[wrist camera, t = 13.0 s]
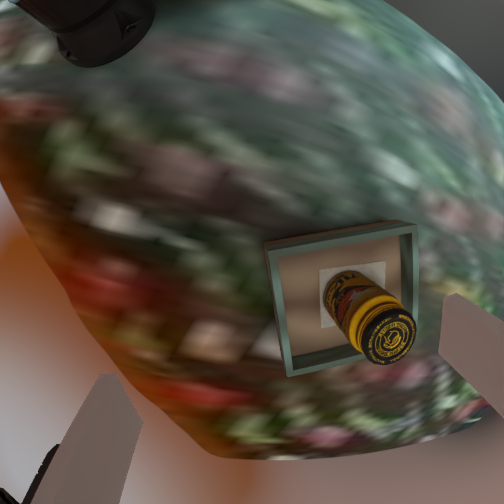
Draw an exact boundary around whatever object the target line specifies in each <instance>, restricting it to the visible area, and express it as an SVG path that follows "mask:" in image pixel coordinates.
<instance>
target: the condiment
mask: <svg viewBox="0 0 504 504" xmlns="http://www.w3.org/2000/svg"><path fill="white" fill-rule="evenodd" d="M385 269H386V261H381V262H374V263H368V264H360V265H351V266H344V267H336V268H328V269H321V270H319V283H320V316H321V328H327V327H332V326H338V327H339V329H340V330H341V331H342V332H343V334H344V335H345V337H346V338H347V340H348V341H349V342H350V343H351V344H352V346H353V347H354V348H355V349H356V350H358V351H360V352H362V353H363V354H364V355H365V356H366V357H367V359H368V360H369V361H371V362H373V363H374V364H380V365H388V364H391V363H395V362H396V361H398V360H400V359H401V358H402V357H404V356H405V354H406V353H407V352H408V351H409V349H410V348H411V346H412V345H413V343H414V341H415V337H416V331H417V327H416V322H415V320H414V318H413V317H412V315H411V314H410V313H409V312H408V311H406V310H405V309H404V307H403V305H402V304H401V302H400V301H399V300H397V298H396V297H395V296H393V295H392V294H390V293H389V292H388V291H386V290H385Z"/></svg>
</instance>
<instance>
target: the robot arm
mask: <svg viewBox="0 0 504 504" xmlns="http://www.w3.org/2000/svg"><path fill="white" fill-rule="evenodd" d="M8 1H9V2H10V3H14V4H15V5H17V6H18V7H20V8H21V9H22V10H24V11H25V12H26V13H28V14H29V15H31V16H32V17H33V18H35V19H36V20H37V21H39V22H40V23H41V24H43V25H44V26H45V27H47V28H48V29H49V30H51V32H52V34H53V37H54V39H55V42H56V44H57V47H58V49H59V51H60V53H61V54H62V55H63V57H65V58H66V59H67V60H69V61H70V62H71V63H73V64H75V65H77V66H81V67H94V66H99V65H103V64H106V63H108V62H111V61H113V60H115V59H117V58H119V57H120V56H122V55H123V54H125V53H126V52H128V51H129V50H130V49H132V48H133V47H134V46H135V45H136V44H137V43H138V42H139V41H140V40H141V39H142V38H143V37H144V35H145V34H146V33H147V31H148V29H149V28H150V26H151V24H152V21H153V18H154V14H155V6H154V2H153V0H8ZM438 354H439V355H440V356H442V357H443V358H444V359H445V360H446V361H447V362H448V363H449V364H450V365H451V366H452V367H453V368H454V369H455V370H456V371H457V372H458V373H459V374H460V375H461V376H462V377H463V378H464V379H465V380H466V381H467V382H468V383H469V384H471V385H472V386H473V387H474V388H475V389H476V390H477V391H478V392H479V393H480V394H481V395H482V396H483V397H484V399H485V400H486V401H487V402H488V403H489V404H490V405H491V406H492V407H493V408H495V410H496V411H497V412H498V413H499V414H500V415H501V416H502V417H503V418H504V322H503V321H502V320H500V319H498V318H497V317H495V316H494V315H492V314H491V313H489V312H487V311H486V310H484V309H482V308H481V307H479V306H477V305H476V304H474V303H473V302H471V301H469V300H468V299H466V298H464V297H462V296H461V295H459V294H457V293H455V294H453V295H450V296H448V297H445V298H443V313H442V325H441V335H440V344H439V352H438ZM142 424H143V422H142V420H141V418H140V417H139V415H138V413H137V412H136V410H135V408H134V406H133V405H132V403H131V401H130V399H129V397H128V395H127V393H126V392H125V390H124V388H123V386H122V384H121V382H120V380H119V378H118V376H117V374H116V373H113V374H101V375H100V376H99V377H98V379H97V381H96V382H95V384H94V386H93V388H92V389H91V391H90V392H89V394H88V396H87V398H86V400H85V401H84V403H83V404H82V406H81V408H80V410H79V411H78V413H77V415H76V417H75V419H74V420H73V422H72V424H71V425H70V427H69V429H68V431H67V433H66V435H65V436H64V438H63V440H62V442H61V444H56V445H55V446H54V447H53V448H52V449H51V450H50V451H49V452H48V453H47V455H46V457H45V459H44V461H43V462H42V464H43V465H41V466H40V468H39V470H38V474H36V476H35V478H34V480H33V482H32V484H31V486H30V488H29V490H28V492H27V494H26V496H25V498H24V500H23V502H22V503H21V504H119V502H120V498H121V494H122V491H123V487H124V484H125V480H126V476H127V473H128V470H129V467H130V463H131V460H132V456H133V453H134V450H135V446H136V443H137V440H138V437H139V433H140V431H141V427H142ZM0 504H19V503H18V502H17V501H16V500H15V499H14V498H13V497H12V496H11V495H10V494H9V493H8V492H6V491H5V490H4V489H3V488H0Z"/></svg>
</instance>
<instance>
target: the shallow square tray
mask: <svg viewBox="0 0 504 504" xmlns="http://www.w3.org/2000/svg"><path fill="white" fill-rule="evenodd" d="M263 245H264V251H265V257H266V263H267V269H268V275H269V282H270V288H271V294H272V300H273V306H274V313H275V319H276V325H277V332H278V338H279V345H280V351H281V357H282V360H283V364H284V368H285V371H286V375H287V377H290V376H295V375H300V374H305V373H309V372H314V371H318V370H322V369H326V368H331V367H335V366H338V365H342V364H346V363H350V362H354V361H357V360H361V359H364V358H367V357H366V356H365V355H364V354H363V353H362V352H360V351H358V350H356V349H355V348H354V347H353V346H352V344H351V343H350V342H349V341H348V340H347V338H346V337H345V335H344V334H343V332H342V331H341V330H340V329H339V327H338V326H332V327H327V328H321V316H320V283H319V270H321V269H328V268H336V267H344V266H351V265H360V264H368V263H374V262H381V261H386V269H385V290H386V291H388V292H389V293H390V294H392V295H393V296H395V297H396V298H397V300H399V301H400V302H401V304H402V305H403V307H404V309H405V310H406V311H408V312H409V313H410V314H411V315H412V317H413V318H414V320H415V322H416V327H417V319H418V294H419V258H418V233H417V224H413V223H409V222H404V221H400V220H391V221H385V222H379V223H373V224H367V225H361V226H355V227H349V228H343V229H338V230H332V231H326V232H320V233H314V234H309V235H303V236H297V237H291V238H286V239H280V240H274V241H269V242H263ZM416 334H417V331H416ZM414 342H416V337H415V341H414Z"/></svg>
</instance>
